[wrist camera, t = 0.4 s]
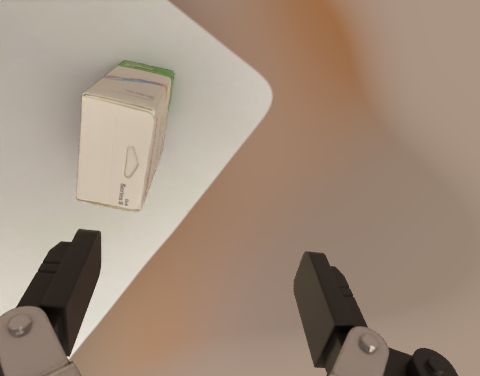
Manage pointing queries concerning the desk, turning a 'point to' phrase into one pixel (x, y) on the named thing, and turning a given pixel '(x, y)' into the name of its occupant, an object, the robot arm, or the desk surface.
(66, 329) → the robot arm
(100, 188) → the ink box
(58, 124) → the desk surface
